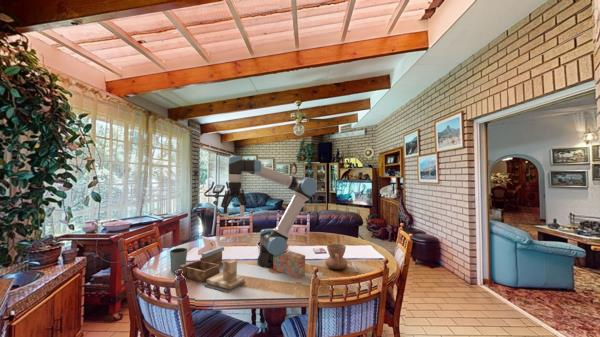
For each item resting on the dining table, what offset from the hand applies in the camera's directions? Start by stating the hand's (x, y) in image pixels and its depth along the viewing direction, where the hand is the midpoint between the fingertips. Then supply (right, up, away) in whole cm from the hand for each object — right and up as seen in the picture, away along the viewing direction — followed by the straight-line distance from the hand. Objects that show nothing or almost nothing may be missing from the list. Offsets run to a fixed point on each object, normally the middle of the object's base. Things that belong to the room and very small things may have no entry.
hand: (234, 217), depth 145 cm
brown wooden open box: (-17, -35, +6) cm, 39 cm away
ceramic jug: (+63, -36, +14) cm, 74 cm away
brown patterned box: (+32, -36, +6) cm, 48 cm away
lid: (-2, -34, -11) cm, 36 cm away
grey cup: (-38, -35, +10) cm, 53 cm away
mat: (-2, -34, -11) cm, 36 cm away
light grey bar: (-18, -27, +16) cm, 37 cm away
